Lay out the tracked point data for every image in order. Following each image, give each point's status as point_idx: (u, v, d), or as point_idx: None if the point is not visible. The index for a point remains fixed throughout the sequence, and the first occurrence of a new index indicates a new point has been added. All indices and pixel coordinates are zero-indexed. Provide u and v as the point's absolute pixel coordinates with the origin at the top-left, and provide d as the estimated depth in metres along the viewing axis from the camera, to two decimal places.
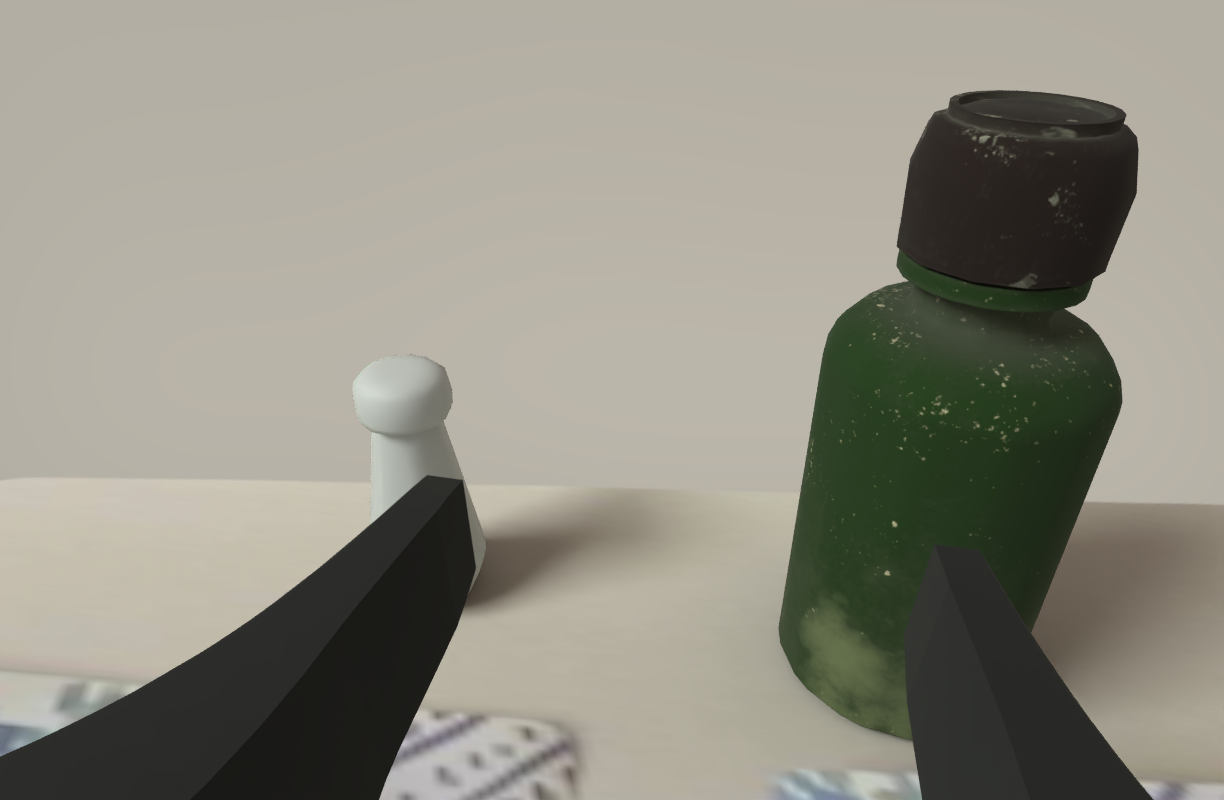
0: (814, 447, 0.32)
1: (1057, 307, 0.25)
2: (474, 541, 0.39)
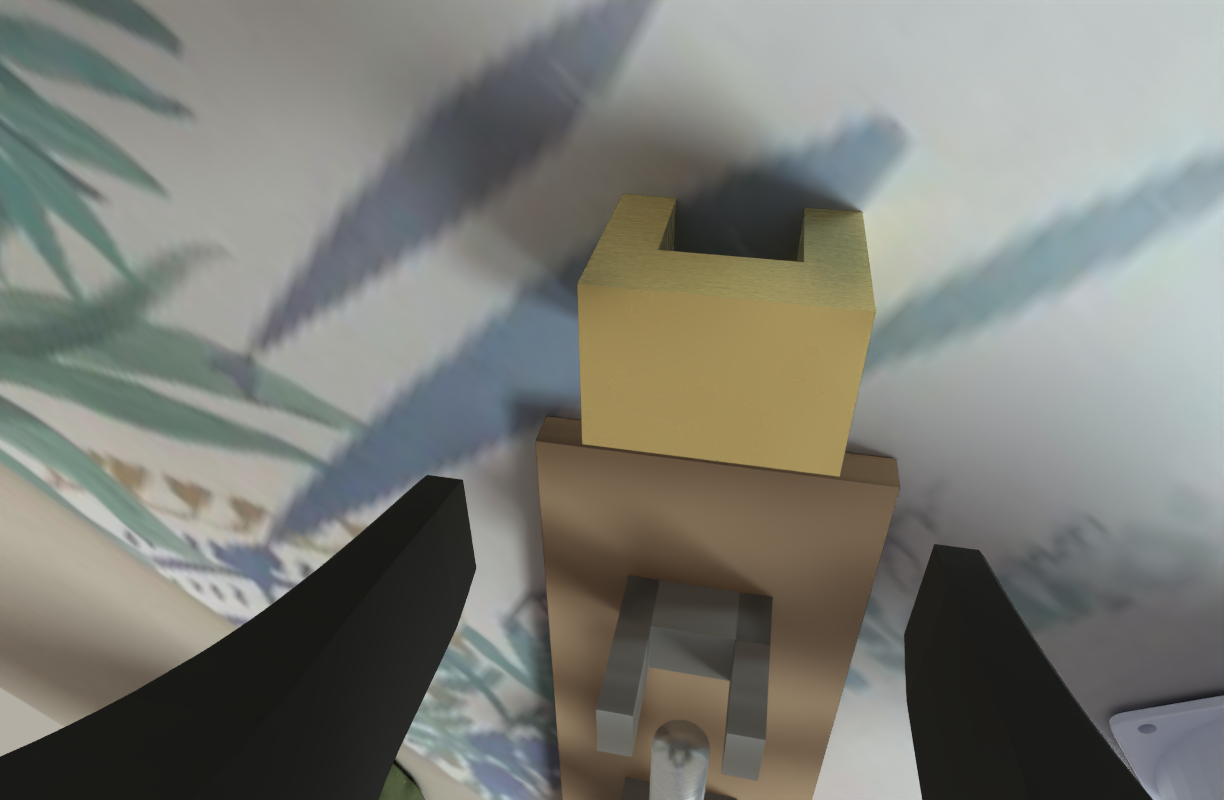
0: None
1: None
2: None
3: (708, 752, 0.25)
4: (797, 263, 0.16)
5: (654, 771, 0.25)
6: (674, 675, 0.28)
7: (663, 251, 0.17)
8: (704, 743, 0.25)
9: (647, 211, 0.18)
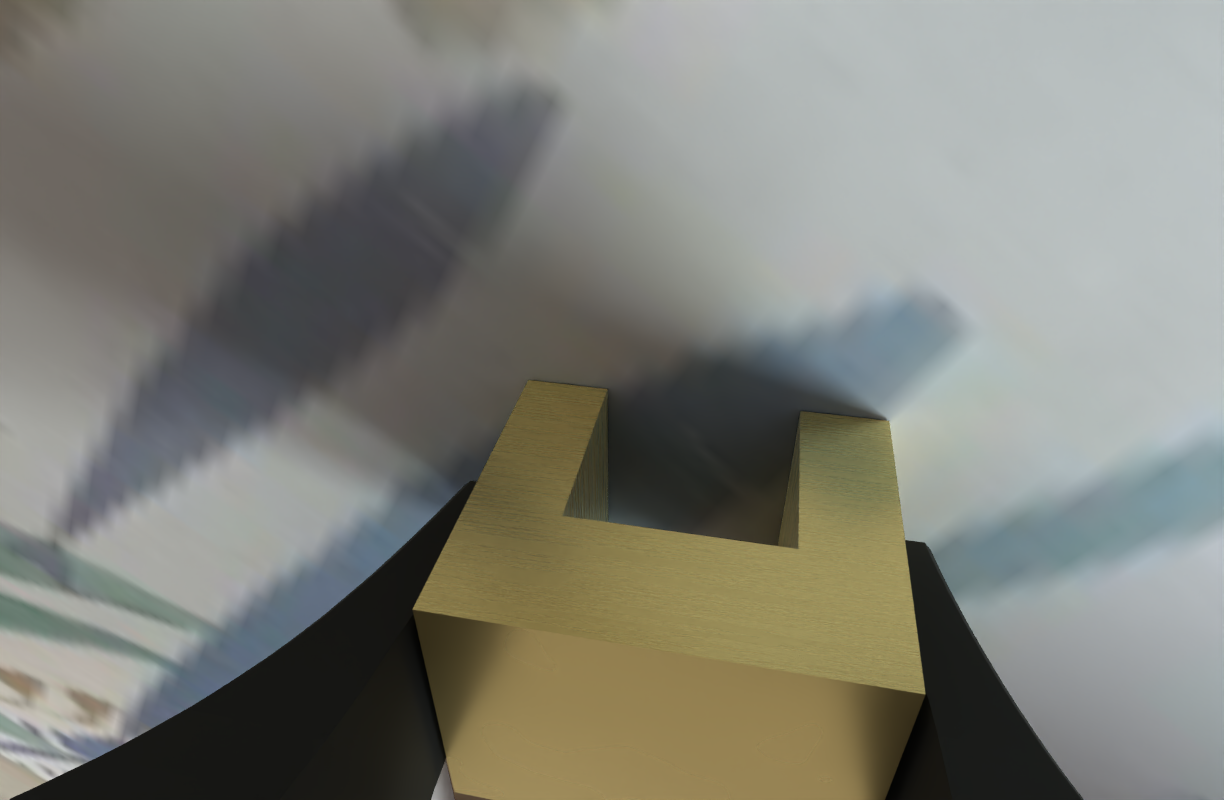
0: None
1: None
2: None
3: None
4: (787, 552, 0.10)
5: None
6: None
7: (570, 520, 0.10)
8: None
9: (559, 418, 0.12)
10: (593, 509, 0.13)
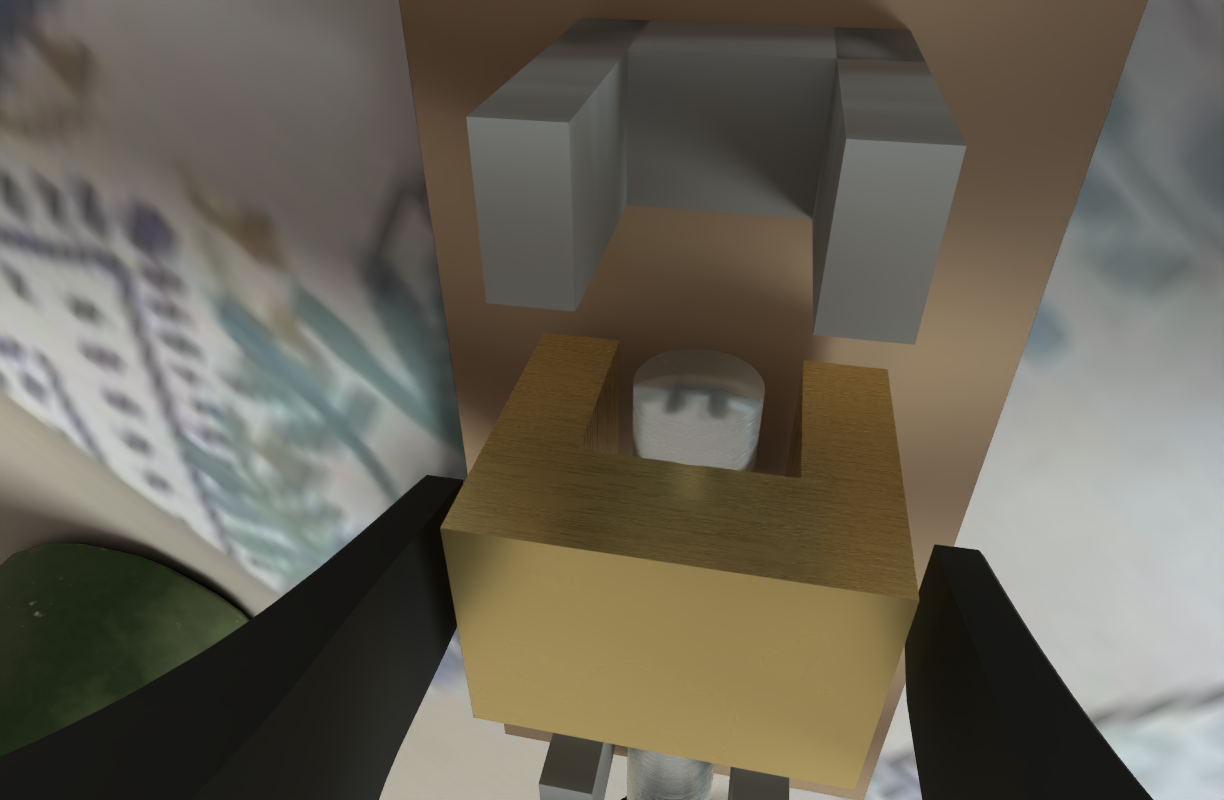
0: None
1: None
2: None
3: (761, 393, 0.11)
4: (791, 481, 0.10)
5: (639, 446, 0.11)
6: (682, 319, 0.14)
7: (586, 453, 0.11)
8: (751, 380, 0.11)
9: (574, 366, 0.13)
10: None
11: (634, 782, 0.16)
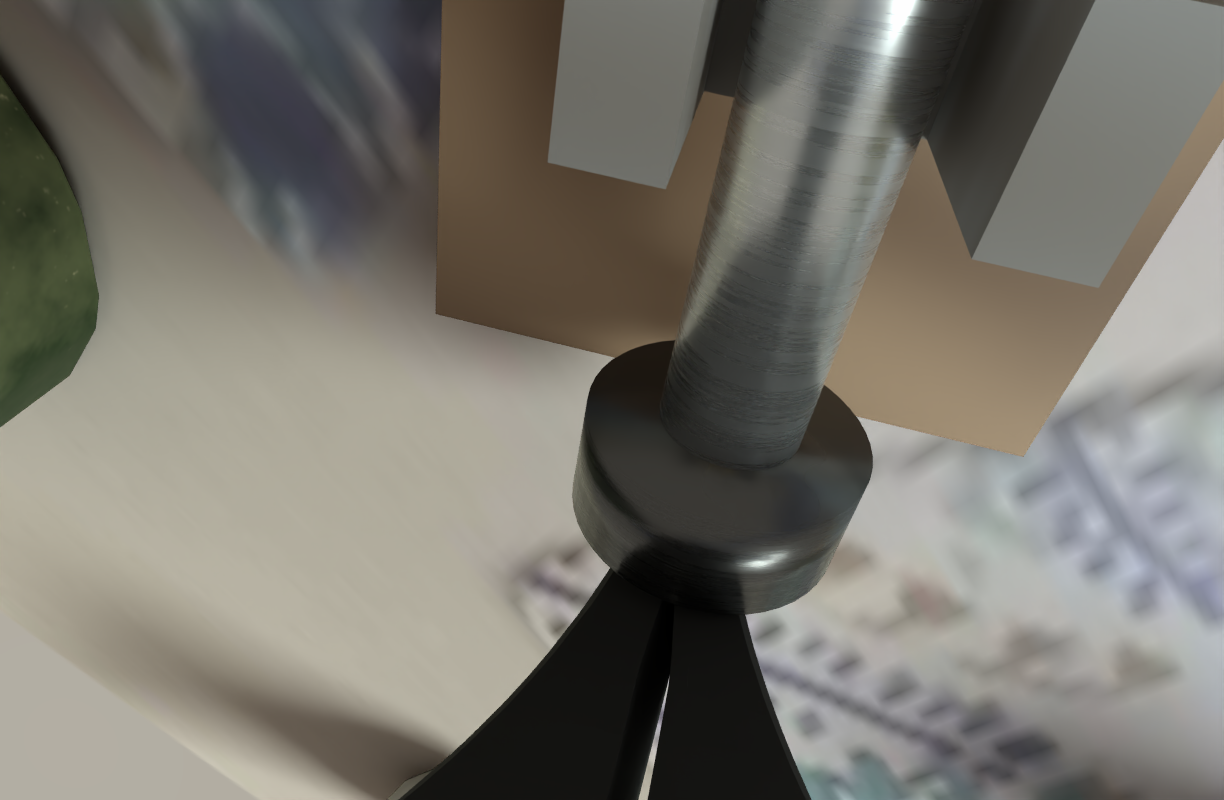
0: None
1: None
2: None
3: None
4: None
5: None
6: None
7: None
8: None
9: None
10: None
11: (774, 45, 0.07)
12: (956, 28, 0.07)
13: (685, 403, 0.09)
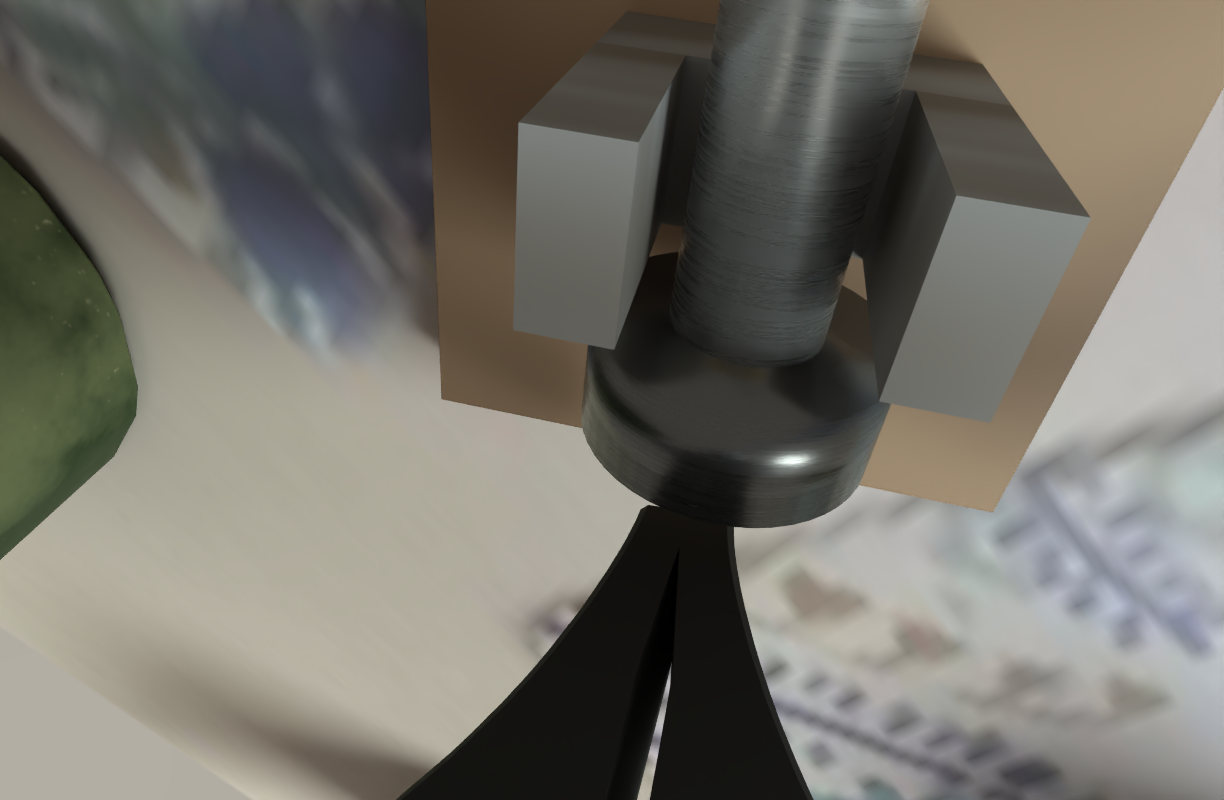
0: None
1: None
2: None
3: None
4: None
5: None
6: None
7: None
8: None
9: None
10: None
11: None
12: None
13: (695, 296, 0.08)
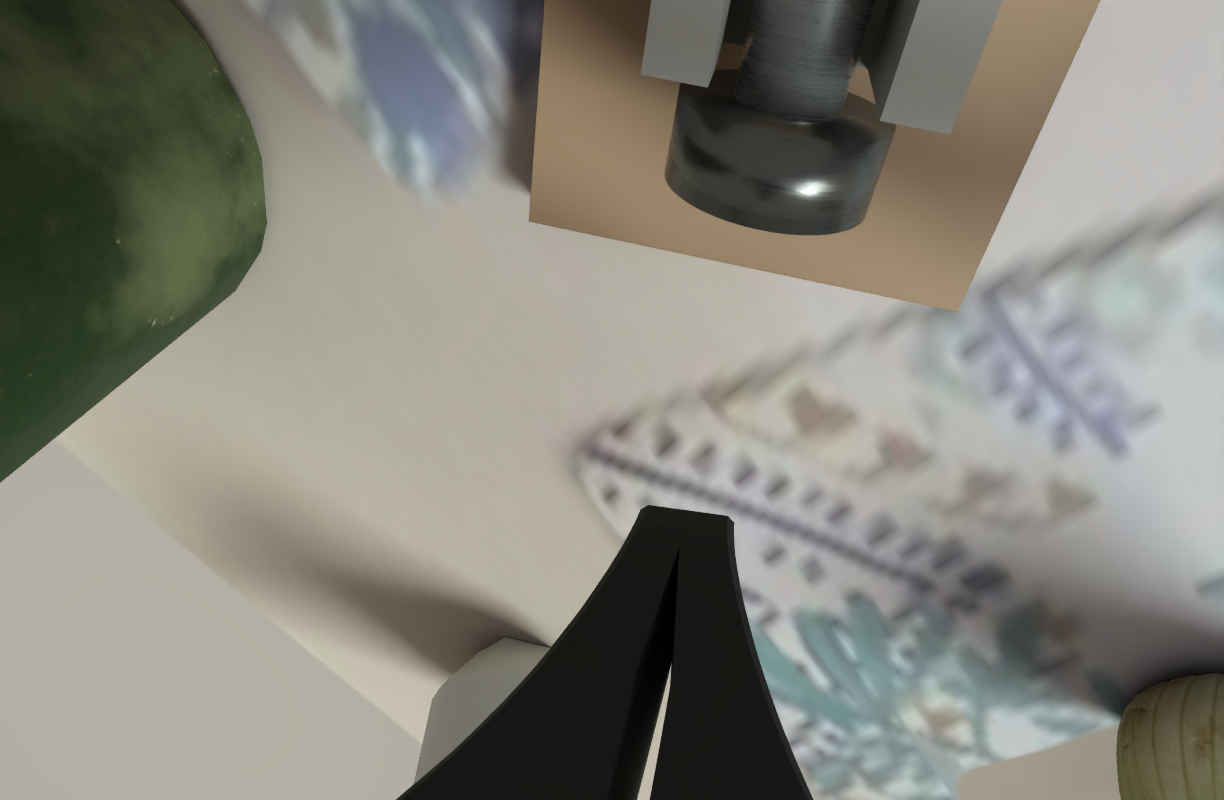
0: None
1: None
2: (464, 713, 0.27)
3: None
4: None
5: None
6: None
7: None
8: None
9: None
10: None
11: None
12: None
13: (757, 69, 0.12)
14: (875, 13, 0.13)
